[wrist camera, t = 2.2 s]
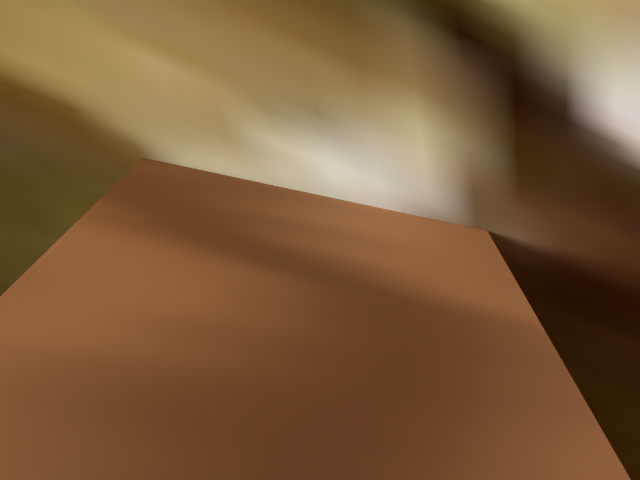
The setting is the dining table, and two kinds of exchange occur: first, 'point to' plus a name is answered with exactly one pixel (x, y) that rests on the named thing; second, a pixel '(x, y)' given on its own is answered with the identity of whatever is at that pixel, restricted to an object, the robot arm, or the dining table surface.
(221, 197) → the cube
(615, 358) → the dining table surface
